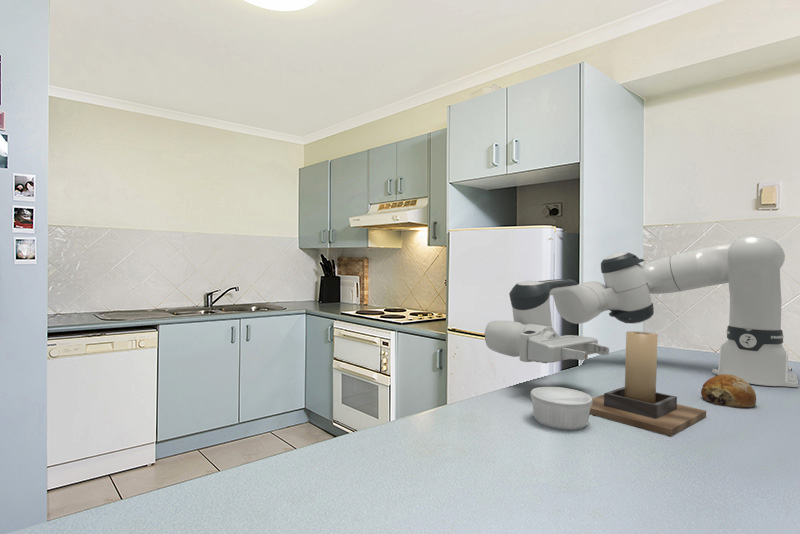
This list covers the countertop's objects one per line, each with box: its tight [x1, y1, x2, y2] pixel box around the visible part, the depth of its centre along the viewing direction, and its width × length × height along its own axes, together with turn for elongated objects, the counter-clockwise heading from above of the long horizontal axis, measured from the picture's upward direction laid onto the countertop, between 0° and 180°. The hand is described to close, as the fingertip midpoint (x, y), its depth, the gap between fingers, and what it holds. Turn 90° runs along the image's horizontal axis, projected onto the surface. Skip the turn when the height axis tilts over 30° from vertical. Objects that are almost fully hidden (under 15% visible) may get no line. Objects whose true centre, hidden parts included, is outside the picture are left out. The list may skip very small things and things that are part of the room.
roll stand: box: [589, 386, 707, 437], centre depth 93 cm, size 18×18×4 cm
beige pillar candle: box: [624, 330, 658, 404], centre depth 93 cm, size 6×6×15 cm
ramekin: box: [530, 386, 593, 431], centre depth 87 cm, size 11×11×5 cm
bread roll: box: [700, 374, 757, 409], centre depth 103 cm, size 10×10×8 cm
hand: (597, 353), depth 99 cm, fingers open, 8 cm apart
